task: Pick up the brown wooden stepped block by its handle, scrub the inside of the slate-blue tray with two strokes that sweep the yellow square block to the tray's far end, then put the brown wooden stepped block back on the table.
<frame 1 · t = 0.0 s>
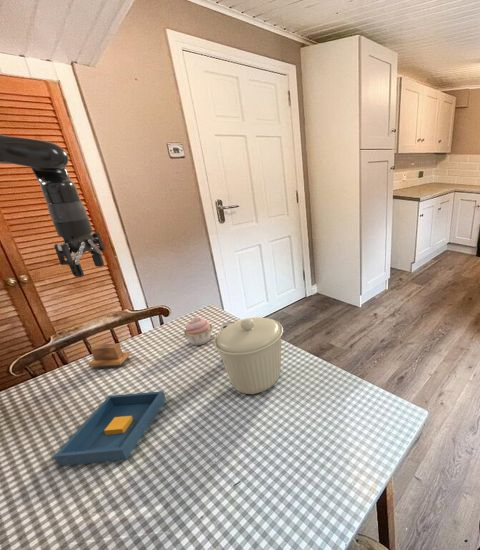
hand: (90, 271, 92), 30 cm above the table, tool pointing down, fingers open, 8 cm apart
cupcake: (201, 341, 110), on the table
yellow square block: (120, 427, 74), point 1 cm above the table, touching tray
energy drink: (235, 357, 101), on the table
tray: (119, 430, 74), on the table
brown wooden stepped block: (111, 363, 98), on the table
canister: (257, 381, 90), on the table
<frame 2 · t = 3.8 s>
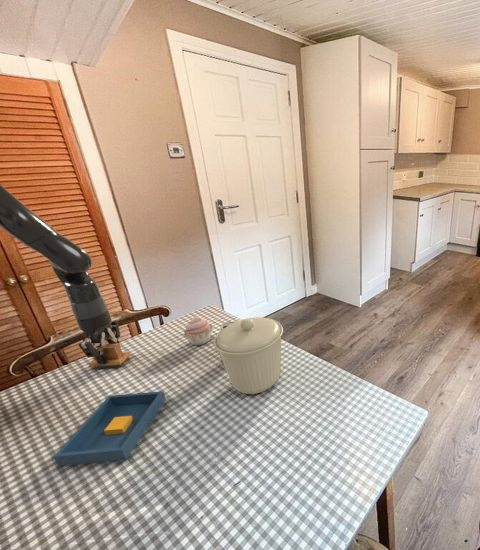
hand: (109, 358, 97), 2 cm above the table, tool pointing down, fingers closed on brown wooden stepped block, 5 cm apart
brown wooden stepped block: (111, 363, 98), on the table, touching gripper
everything else where it was.
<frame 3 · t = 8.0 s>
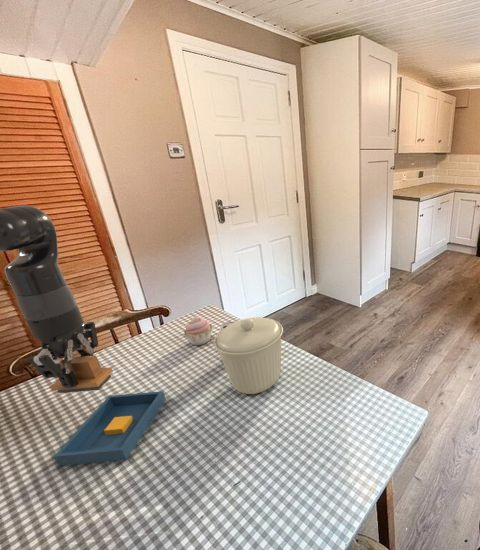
hand: (81, 377, 66), 18 cm above the table, tool pointing down, fingers closed on brown wooden stepped block, 5 cm apart
brown wooden stepped block: (85, 385, 67), point 15 cm above the table, touching gripper
everything else where it was.
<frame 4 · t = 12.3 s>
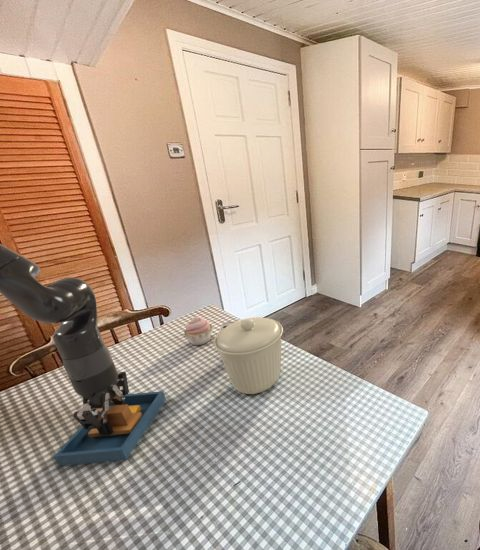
hand: (115, 423, 73), 3 cm above the table, tool pointing down, fingers closed on brown wooden stepped block, 5 cm apart
yellow square block: (129, 416, 78), point 1 cm above the table, touching brown wooden stepped block, tray
brown wooden stepped block: (118, 429, 74), point 1 cm above the table, touching yellow square block, gripper
everything else where it was.
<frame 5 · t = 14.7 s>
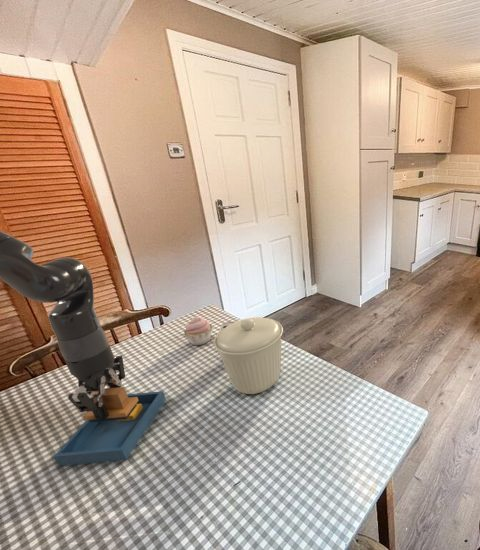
hand: (111, 407, 72), 7 cm above the table, tool pointing down, fingers closed on brown wooden stepped block, 5 cm apart
yellow square block: (130, 414, 78), point 1 cm above the table, touching tray
brown wooden stepped block: (114, 413, 73), point 5 cm above the table, touching gripper
everything else where it was.
when the fingers open (2 cm above the table, at t = 22.0 s): brown wooden stepped block stays where it is, on the table.
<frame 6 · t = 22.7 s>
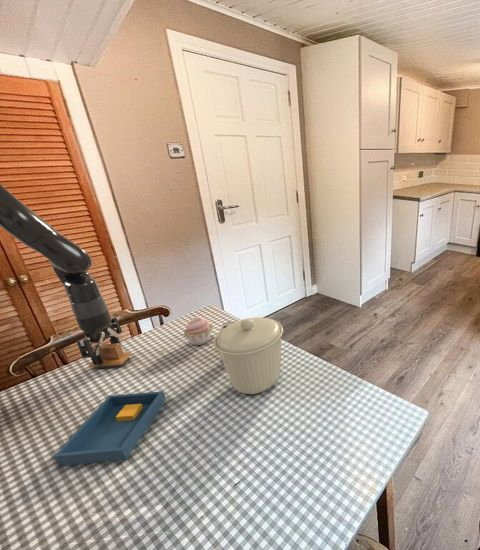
hand: (108, 356, 97), 3 cm above the table, tool pointing down, fingers open, 8 cm apart
brown wooden stepped block: (112, 363, 98), on the table
everything else where it was.
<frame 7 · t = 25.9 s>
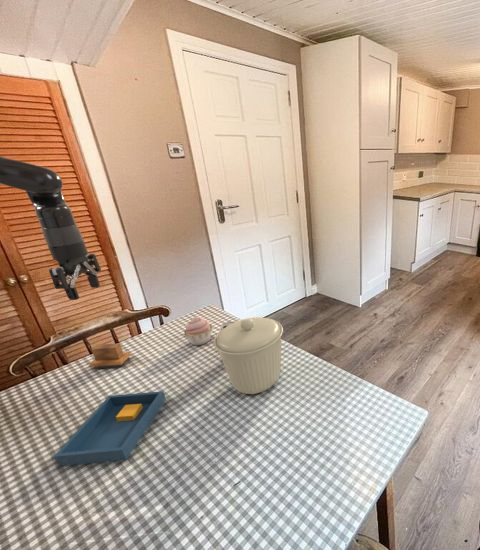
hand: (85, 293, 92), 24 cm above the table, tool pointing down, fingers open, 8 cm apart
nothing on the table moved.
at the end: yellow square block inside the target area in the tray (0.8 cm from its centre), point 0.6 cm above the tray's base; brown wooden stepped block inside the target area (0.3 cm from its centre), on the table; the gripper is holding nothing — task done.
